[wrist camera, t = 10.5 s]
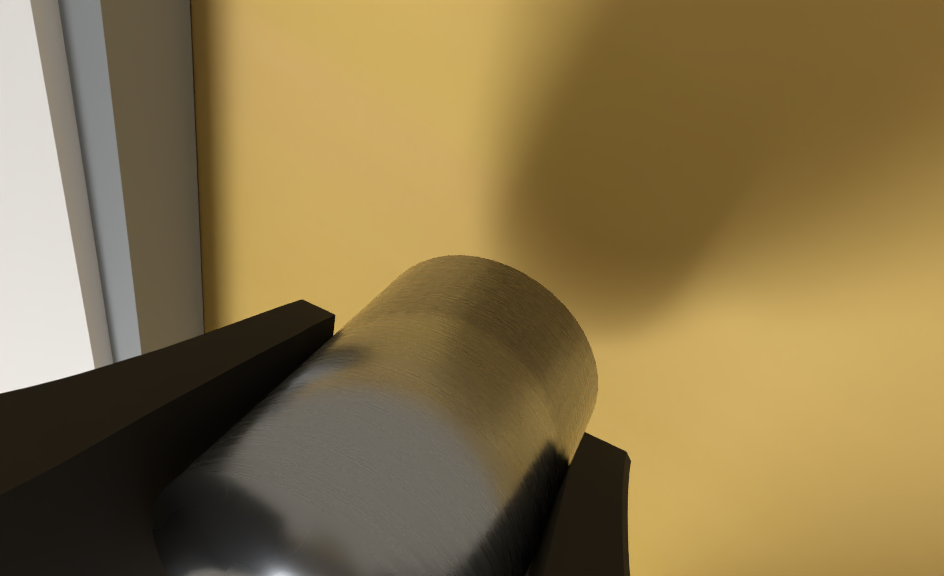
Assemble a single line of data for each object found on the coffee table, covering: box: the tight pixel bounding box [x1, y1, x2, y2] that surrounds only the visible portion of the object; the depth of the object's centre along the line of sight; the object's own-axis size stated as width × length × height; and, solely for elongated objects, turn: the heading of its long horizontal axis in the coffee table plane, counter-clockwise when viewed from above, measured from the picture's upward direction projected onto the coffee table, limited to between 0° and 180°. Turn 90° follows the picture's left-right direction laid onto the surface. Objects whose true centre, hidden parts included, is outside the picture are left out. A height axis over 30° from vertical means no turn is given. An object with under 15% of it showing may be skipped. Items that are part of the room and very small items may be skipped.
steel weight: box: [152, 255, 598, 576], centre depth 9 cm, size 4×4×5 cm
